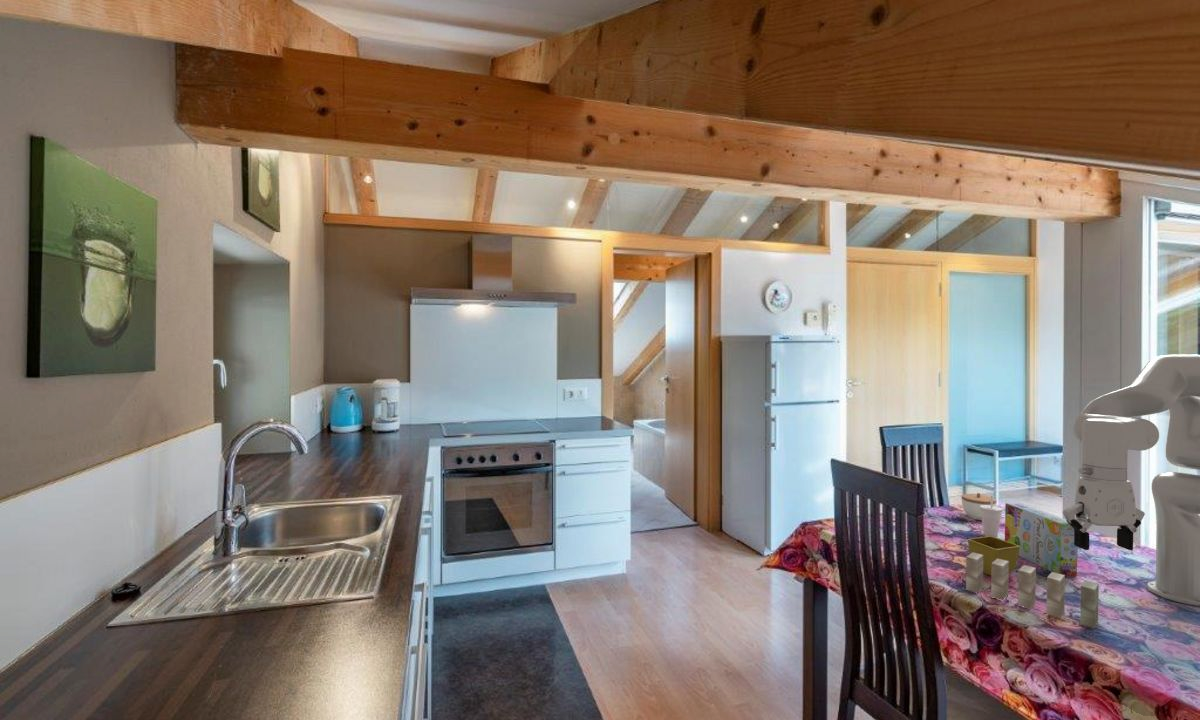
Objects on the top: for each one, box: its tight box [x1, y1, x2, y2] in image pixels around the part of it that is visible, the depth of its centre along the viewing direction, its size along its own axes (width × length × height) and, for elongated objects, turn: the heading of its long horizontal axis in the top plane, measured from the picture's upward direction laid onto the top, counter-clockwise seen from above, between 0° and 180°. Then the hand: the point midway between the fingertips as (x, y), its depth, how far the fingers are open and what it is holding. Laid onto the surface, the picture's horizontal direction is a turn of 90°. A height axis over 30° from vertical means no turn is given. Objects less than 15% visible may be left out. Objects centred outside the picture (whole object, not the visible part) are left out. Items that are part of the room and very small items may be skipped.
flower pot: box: [967, 535, 1020, 577], centre depth 149 cm, size 9×9×9 cm
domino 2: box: [990, 558, 1010, 600], centre depth 135 cm, size 2×5×9 cm, turn 129°
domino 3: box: [1017, 564, 1037, 610], centre depth 131 cm, size 2×5×9 cm, turn 129°
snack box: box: [1004, 502, 1079, 577], centre depth 158 cm, size 21×6×15 cm, turn 179°
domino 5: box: [1079, 579, 1100, 630], centre depth 122 cm, size 2×5×9 cm, turn 130°
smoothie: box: [980, 494, 1003, 538], centre depth 181 cm, size 6×6×14 cm
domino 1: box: [965, 552, 984, 592], centre depth 139 cm, size 2×5×9 cm, turn 129°
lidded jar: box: [961, 492, 997, 521], centre depth 200 cm, size 11×11×9 cm
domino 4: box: [1046, 572, 1066, 619], centre depth 127 cm, size 2×5×9 cm, turn 129°
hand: (1103, 547), depth 120 cm, fingers open, 9 cm apart
